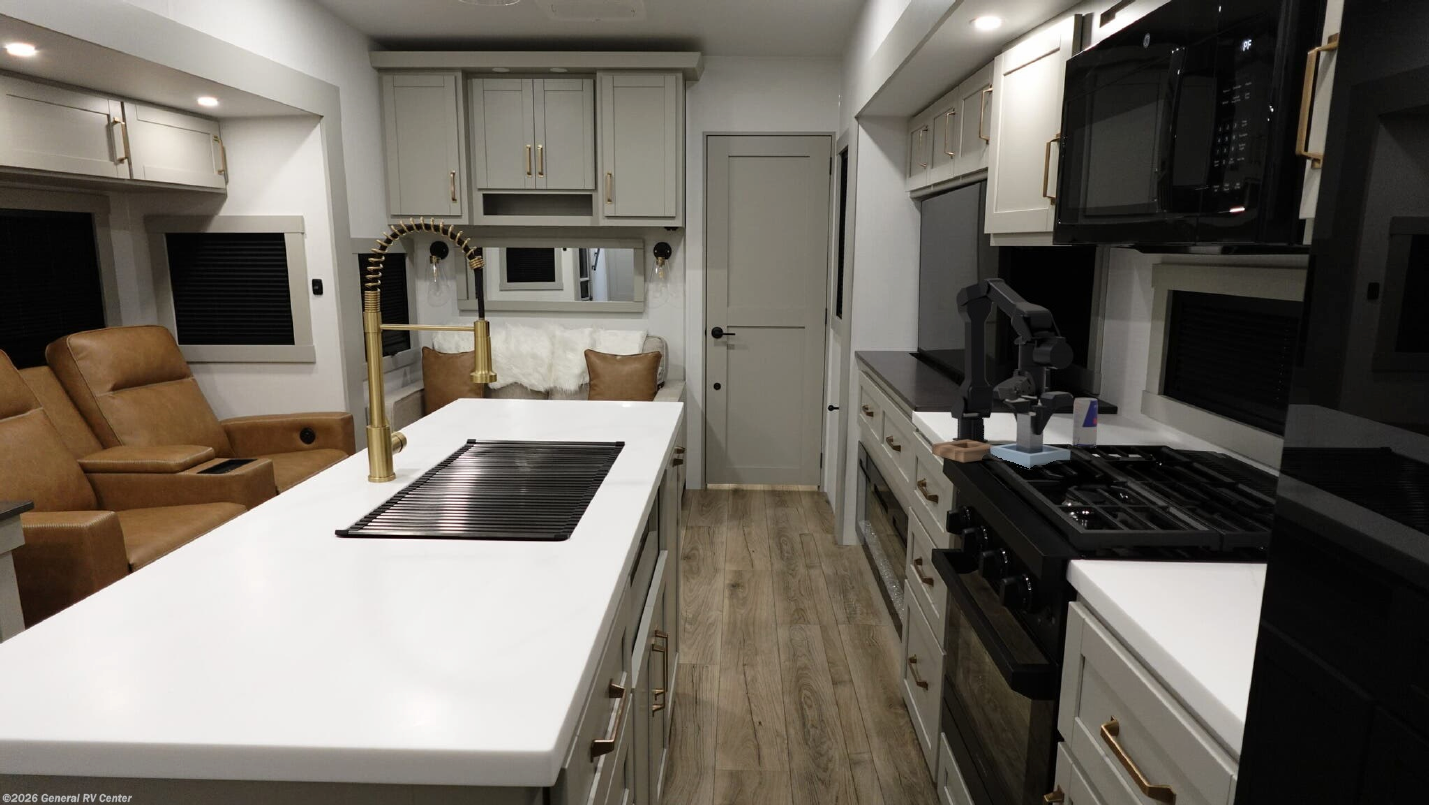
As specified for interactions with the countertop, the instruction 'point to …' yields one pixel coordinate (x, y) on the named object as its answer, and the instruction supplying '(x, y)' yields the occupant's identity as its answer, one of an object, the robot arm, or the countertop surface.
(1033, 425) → the gray rectangular block
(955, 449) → the walnut socket block
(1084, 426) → the energy drink
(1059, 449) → the blue tray
